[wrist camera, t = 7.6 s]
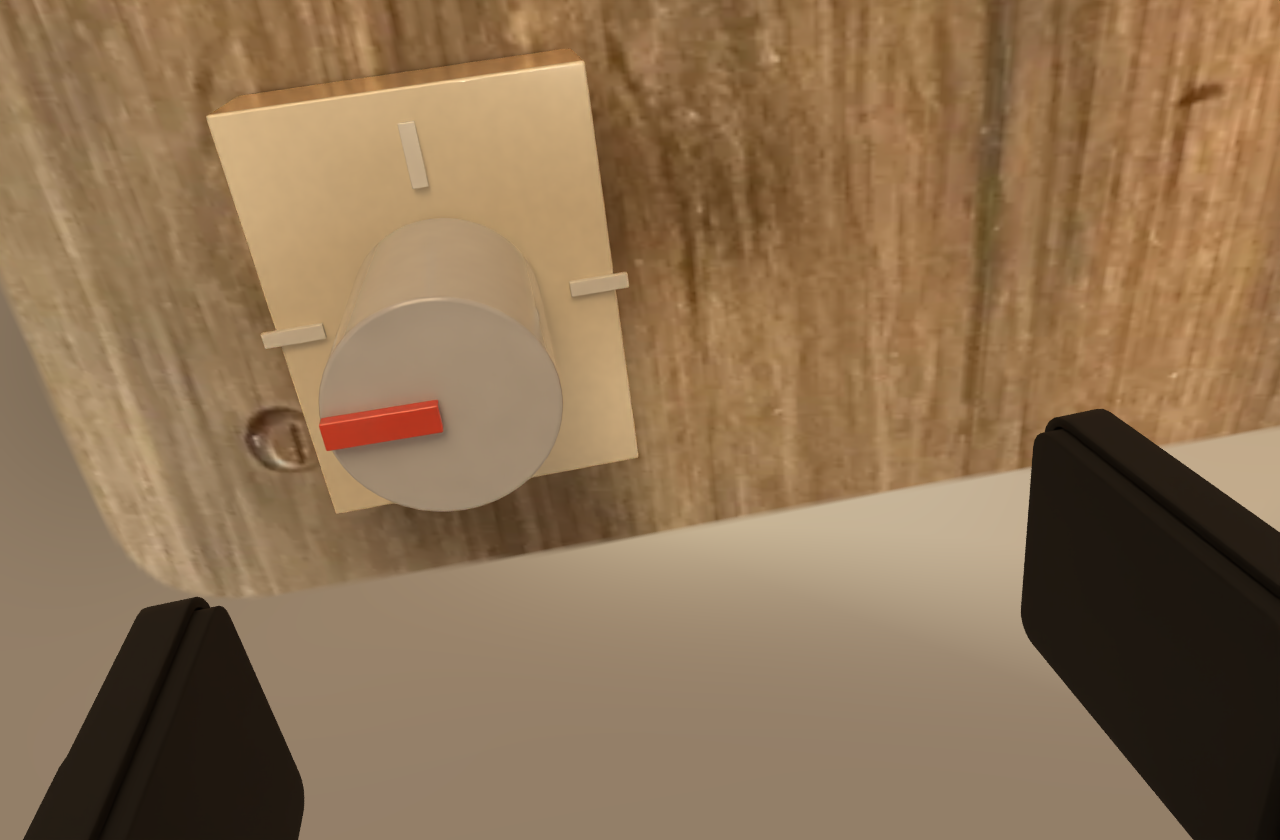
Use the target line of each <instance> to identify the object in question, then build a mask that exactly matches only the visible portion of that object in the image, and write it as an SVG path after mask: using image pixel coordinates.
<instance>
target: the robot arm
mask: <svg viewBox="0 0 1280 840" xmlns="http://www.w3.org/2000/svg"><path fill="white" fill-rule="evenodd" d="M1026 537H1027V538H1026V550H1025V563H1024V576H1023V590H1022V602H1021V618H1022V623H1023V626H1024V629H1025V632H1026V634H1027V636H1028V638H1029V640H1030V641H1031V642H1032V644H1033V645H1034V646H1035V648H1036V649H1037V650H1038V651H1039V652H1040V654H1041V655H1042V656H1043V657H1044V659H1045V660H1046V661H1047V662H1048V663H1049V665H1050V666H1051V667H1052V668H1053V669H1054V671H1055V672H1056V673H1057V674H1058V676H1059V677H1060V678H1061V679H1062V680H1063V682H1064V683H1065V684H1066V685H1067V686H1068V688H1069V689H1070V690H1071V691H1072V693H1073V694H1074V695H1075V696H1076V697H1077V699H1078V700H1079V701H1080V702H1081V703H1082V705H1083V706H1084V707H1085V708H1086V710H1087V711H1088V712H1089V713H1090V714H1091V716H1092V717H1093V718H1094V719H1095V720H1096V722H1097V723H1098V724H1099V725H1100V727H1101V728H1102V729H1103V730H1104V731H1105V733H1106V734H1107V735H1108V736H1109V738H1110V739H1111V740H1112V741H1113V742H1114V744H1115V745H1116V746H1117V747H1118V749H1119V750H1120V751H1121V752H1122V753H1123V755H1124V756H1125V757H1126V758H1127V760H1128V761H1129V762H1130V763H1131V764H1132V766H1133V767H1134V768H1135V769H1136V770H1137V772H1138V773H1139V774H1140V775H1141V777H1142V778H1143V779H1144V780H1145V781H1146V783H1147V784H1148V785H1149V786H1150V787H1151V789H1152V790H1153V791H1154V792H1155V794H1156V795H1157V796H1158V797H1159V798H1160V800H1161V801H1162V802H1163V803H1164V804H1165V806H1166V807H1167V808H1168V809H1169V811H1170V812H1171V813H1172V814H1173V815H1174V817H1175V818H1176V819H1177V820H1178V822H1179V823H1180V824H1181V825H1182V826H1183V828H1184V829H1185V830H1186V831H1187V833H1188V834H1189V835H1190V836H1191V837H1192V839H1193V840H1280V532H1278V531H1277V530H1275V529H1274V528H1272V527H1271V526H1270V525H1268V524H1267V523H1265V522H1264V521H1263V520H1261V519H1260V518H1259V517H1257V516H1256V515H1254V514H1253V513H1252V512H1250V511H1248V510H1247V509H1246V508H1245V507H1243V506H1242V505H1240V504H1239V503H1237V502H1236V501H1235V500H1233V499H1232V498H1230V497H1229V496H1228V495H1226V494H1225V493H1223V492H1222V491H1220V490H1219V489H1218V488H1216V487H1215V486H1214V485H1212V484H1211V483H1209V482H1208V481H1206V480H1205V479H1204V478H1202V477H1201V476H1199V475H1198V474H1197V473H1195V472H1194V471H1192V470H1191V469H1189V468H1188V467H1187V466H1185V465H1184V464H1182V463H1181V462H1180V461H1178V460H1177V459H1175V458H1174V457H1173V456H1171V455H1170V454H1168V453H1167V452H1166V451H1164V450H1163V449H1161V448H1160V447H1159V446H1157V445H1156V444H1154V443H1153V442H1152V441H1150V440H1149V439H1147V438H1146V437H1145V436H1143V435H1142V434H1140V433H1139V432H1137V431H1136V430H1135V429H1133V428H1132V427H1130V426H1129V425H1128V424H1126V423H1125V422H1123V421H1122V420H1121V419H1119V418H1118V417H1116V416H1115V415H1114V414H1112V413H1111V412H1109V411H1107V410H1104V409H1095V410H1090V411H1085V412H1080V413H1076V414H1071V415H1066V416H1061V417H1056V418H1054V419H1052V420H1051V421H1049V423H1048V425H1047V426H1046V429H1045V433H1041V434H1039V435H1037V437H1036V439H1035V441H1034V446H1033V457H1032V470H1031V484H1030V499H1029V510H1028V523H1027V536H1026ZM303 811H304V789H303V784H302V779H301V776H300V774H299V771H298V769H297V767H296V764H295V762H294V760H293V758H292V755H291V753H290V751H289V748H288V746H287V744H286V742H285V739H284V737H283V735H282V733H281V731H280V728H279V726H278V724H277V721H276V719H275V717H274V715H273V713H272V710H271V708H270V706H269V704H268V701H267V699H266V697H265V694H264V692H263V690H262V688H261V685H260V683H259V681H258V679H257V677H256V674H255V672H254V670H253V667H252V665H251V663H250V660H249V658H248V656H247V654H246V651H245V649H244V647H243V645H242V642H241V640H240V638H239V636H238V634H237V631H236V629H235V627H234V624H233V622H232V620H231V618H230V616H229V614H228V612H227V610H226V609H225V608H224V607H221V606H216V607H211V608H210V606H209V604H208V603H207V602H206V601H205V600H204V599H203V598H200V597H194V598H189V599H184V600H180V601H175V602H170V603H165V604H161V605H156V606H151V607H147V608H144V609H142V610H141V611H140V613H139V614H138V616H137V617H136V619H135V621H134V623H133V625H132V627H131V629H130V631H129V633H128V635H127V637H126V639H125V641H124V643H123V645H122V647H121V649H120V651H119V653H118V655H117V657H116V659H115V661H114V663H113V665H112V667H111V669H110V671H109V673H108V675H107V677H106V679H105V681H104V683H103V685H102V687H101V689H100V691H99V693H98V695H97V697H96V699H95V701H94V703H93V705H92V707H91V709H90V711H89V713H88V715H87V718H86V719H85V722H84V723H83V725H82V728H81V729H80V731H79V733H78V735H77V737H76V739H75V741H74V744H73V745H72V747H71V749H70V751H69V753H68V755H67V757H66V758H65V760H64V761H63V763H62V764H61V766H60V767H59V769H58V771H57V773H56V775H55V777H54V779H53V781H52V783H51V785H50V787H49V789H48V791H47V793H46V795H45V797H44V799H43V801H42V803H41V805H40V807H39V809H38V811H37V813H36V815H35V817H34V819H33V821H32V823H31V825H30V827H29V829H28V831H27V833H26V835H25V837H24V839H23V840H298V837H299V832H300V827H301V822H302V816H303Z"/></svg>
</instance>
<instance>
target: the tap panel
mask: <svg viewBox="0 0 1280 840" xmlns="http://www.w3.org/2000/svg"><path fill="white" fill-rule="evenodd" d="M206 119H207V122H208V125H209V128H210V132H211V135H212V138H213V141H214V144H215V147H216V150H217V153H218V156H219V159H220V162H221V165H222V168H223V171H224V174H225V177H226V180H227V183H228V186H229V189H230V193H231V196H232V199H233V202H234V205H235V208H236V211H237V214H238V217H239V220H240V223H241V226H242V229H243V232H244V235H245V238H246V241H247V244H248V247H249V250H250V254H251V257H252V260H253V263H254V266H255V269H256V272H257V275H258V278H259V281H260V284H261V287H262V290H263V293H264V296H265V299H266V302H267V305H268V308H269V311H270V315H271V318H272V321H273V324H274V327H275V330H276V331H270V332H264V333H262V334H261V338H262V341H263V344H264V347H265V349H269V348H275V347H281V348H282V351H283V354H284V357H285V360H286V363H287V366H288V369H289V372H290V375H291V379H292V382H293V385H294V388H295V391H296V394H297V397H298V400H299V403H300V406H301V409H302V412H303V415H304V418H305V421H306V424H307V427H308V430H309V433H310V436H311V440H312V443H313V446H314V449H315V452H316V455H317V458H318V461H319V464H320V467H321V470H322V473H323V476H324V479H325V482H326V485H327V488H328V491H329V494H330V497H331V501H332V504H333V507H334V510H335V512H336V514H340V513H346V512H351V511H356V510H362V509H367V508H372V507H378V506H383V505H388V504H394V503H393V502H391V501H389V500H387V499H384V498H382V497H380V496H378V495H377V494H375V493H373V492H372V491H370V490H368V489H367V488H365V487H364V486H363V485H362V484H360V483H359V482H358V481H357V480H355V479H354V478H353V477H352V476H351V475H350V474H349V473H348V472H347V471H346V470H345V469H344V467H343V466H342V465H341V463H340V462H339V461H338V459H337V458H336V457H335V455H334V453H333V452H332V451H326V449H325V445H324V442H323V439H322V435H321V432H320V429H319V423H320V415H319V389H320V383H321V379H322V375H323V371H324V368H325V366H326V363H327V360H328V357H329V354H330V351H331V348H332V345H333V342H334V339H335V336H336V333H337V330H338V328H339V325H340V322H341V319H342V316H343V313H344V310H345V307H346V304H347V301H348V298H349V295H350V292H351V290H352V287H353V284H354V281H355V278H356V276H357V273H358V271H359V268H360V266H361V264H362V263H363V261H364V259H365V258H366V256H367V255H368V254H369V253H370V251H371V250H372V249H373V248H374V247H375V246H376V245H377V244H378V243H379V242H380V241H381V240H382V239H383V238H385V237H386V236H388V235H389V234H390V233H392V232H393V231H395V230H397V229H399V228H401V227H403V226H405V225H408V224H411V223H414V222H417V221H421V220H426V219H433V218H456V219H462V220H467V221H471V222H474V223H477V224H481V225H483V226H485V227H487V228H490V229H492V230H494V231H495V232H497V233H498V234H500V235H502V236H503V237H505V238H506V239H507V240H508V241H510V242H511V243H512V244H513V245H514V246H515V247H516V248H517V249H518V250H519V251H520V252H521V253H522V254H523V256H524V257H525V258H526V260H527V261H528V263H529V264H530V266H531V268H532V270H533V271H534V273H535V276H536V278H537V281H538V284H539V287H540V291H541V296H542V300H543V305H544V309H545V314H546V319H547V323H548V328H549V332H550V337H551V342H552V346H553V351H554V356H555V360H556V365H557V369H558V374H559V379H560V383H561V388H562V396H563V414H562V421H561V426H560V431H559V434H558V436H557V439H556V442H555V444H554V446H553V448H552V450H551V452H550V454H549V456H548V457H547V459H546V460H545V461H544V463H543V464H542V466H541V467H540V468H539V469H538V470H537V471H536V472H535V474H534V475H533V476H532V477H538V476H543V475H548V474H554V473H559V472H564V471H570V470H575V469H580V468H586V467H591V466H596V465H602V464H607V463H612V462H618V461H623V460H628V459H634V458H637V457H638V455H639V454H638V446H637V439H636V432H635V425H634V417H633V410H632V403H631V395H630V388H629V381H628V373H627V366H626V359H625V351H624V344H623V337H622V329H621V322H620V315H619V308H618V300H617V293H616V289H622V288H628V287H629V282H628V275H627V272H621V273H615V274H614V271H613V264H612V256H611V249H610V242H609V234H608V227H607V220H606V212H605V205H604V198H603V191H602V183H601V176H600V169H599V161H598V154H597V147H596V139H595V132H594V125H593V117H592V110H591V103H590V95H589V88H588V81H587V73H586V66H585V62H584V61H583V60H582V59H581V58H580V57H579V56H578V55H577V54H576V53H575V52H574V51H573V50H572V49H570V48H566V49H559V50H552V51H545V52H538V53H531V54H524V55H518V56H511V57H504V58H497V59H490V60H483V61H476V62H469V63H462V64H455V65H448V66H441V67H434V68H427V69H421V70H414V71H407V72H400V73H393V74H386V75H379V76H372V77H365V78H358V79H351V80H344V81H337V82H331V83H324V84H317V85H310V86H303V87H296V88H289V89H282V90H275V91H268V92H261V93H254V94H247V95H240V96H238V97H236V98H234V99H233V100H231V101H230V102H228V103H226V104H225V105H223V106H222V107H220V108H218V109H217V110H215V111H214V112H212V113H211V114H209V115H207V116H206ZM532 477H531V478H532Z"/></svg>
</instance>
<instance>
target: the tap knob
mask: <svg viewBox="0 0 1280 840" xmlns="http://www.w3.org/2000/svg"><path fill="white" fill-rule="evenodd" d="M562 414H563V396H562V388H561V383H560V379H559V374H558V369H557V365H556V360H555V356H554V351H553V346H552V342H551V337H550V332H549V328H548V323H547V319H546V314H545V309H544V305H543V300H542V296H541V291H540V287H539V284H538V281H537V278H536V276H535V273H534V271H533V270H532V268H531V266H530V264H529V263H528V261H527V260H526V258H525V257H524V256H523V254H522V253H521V252H520V251H519V250H518V249H517V248H516V247H515V246H514V245H513V244H512V243H511V242H510V241H508V240H507V239H506V238H505V237H503V236H502V235H500V234H498V233H497V232H495V231H494V230H492V229H490V228H487V227H485V226H483V225H481V224H477V223H474V222H471V221H467V220H462V219H456V218H433V219H426V220H421V221H417V222H414V223H411V224H408V225H405V226H403V227H401V228H399V229H397V230H395V231H393V232H392V233H390V234H389V235H388V236H386V237H385V238H383V239H382V240H381V241H380V242H379V243H378V244H377V245H376V246H375V247H374V248H373V249H372V250H371V251H370V253H369V254H368V255H367V256H366V258H365V259H364V261H363V263H362V264H361V266H360V268H359V271H358V273H357V276H356V278H355V281H354V284H353V287H352V290H351V292H350V295H349V298H348V301H347V304H346V307H345V310H344V313H343V316H342V319H341V322H340V325H339V328H338V330H337V333H336V336H335V339H334V342H333V345H332V348H331V351H330V354H329V357H328V360H327V363H326V366H325V368H324V371H323V375H322V379H321V383H320V389H319V415H320V423H319V429H320V432H321V435H322V439H323V442H324V445H325V449H326V451H332V452H333V453H334V455H335V457H336V458H337V459H338V461H339V462H340V463H341V465H342V466H343V467H344V469H345V470H346V471H347V472H348V473H349V474H350V475H351V476H352V477H353V478H354V479H355V480H357V481H358V482H359V483H360V484H362V485H363V486H364V487H365V488H367V489H368V490H370V491H372V492H373V493H375V494H377V495H378V496H380V497H382V498H384V499H387V500H389V501H391V502H393V503H396V504H399V505H402V506H405V507H409V508H414V509H419V510H426V511H436V512H440V511H459V510H467V509H471V508H475V507H480V506H483V505H486V504H488V503H491V502H494V501H496V500H498V499H500V498H502V497H504V496H506V495H508V494H510V493H511V492H513V491H514V490H516V489H517V488H519V487H520V486H521V485H523V484H524V483H525V482H526V481H527V480H529V479H530V478H531V477H532V476H533V475H534V474H535V472H536V471H537V470H538V469H539V468H540V467H541V466H542V464H543V463H544V461H545V460H546V459H547V457H548V456H549V454H550V452H551V450H552V448H553V446H554V444H555V442H556V439H557V436H558V434H559V431H560V426H561V421H562Z"/></svg>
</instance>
